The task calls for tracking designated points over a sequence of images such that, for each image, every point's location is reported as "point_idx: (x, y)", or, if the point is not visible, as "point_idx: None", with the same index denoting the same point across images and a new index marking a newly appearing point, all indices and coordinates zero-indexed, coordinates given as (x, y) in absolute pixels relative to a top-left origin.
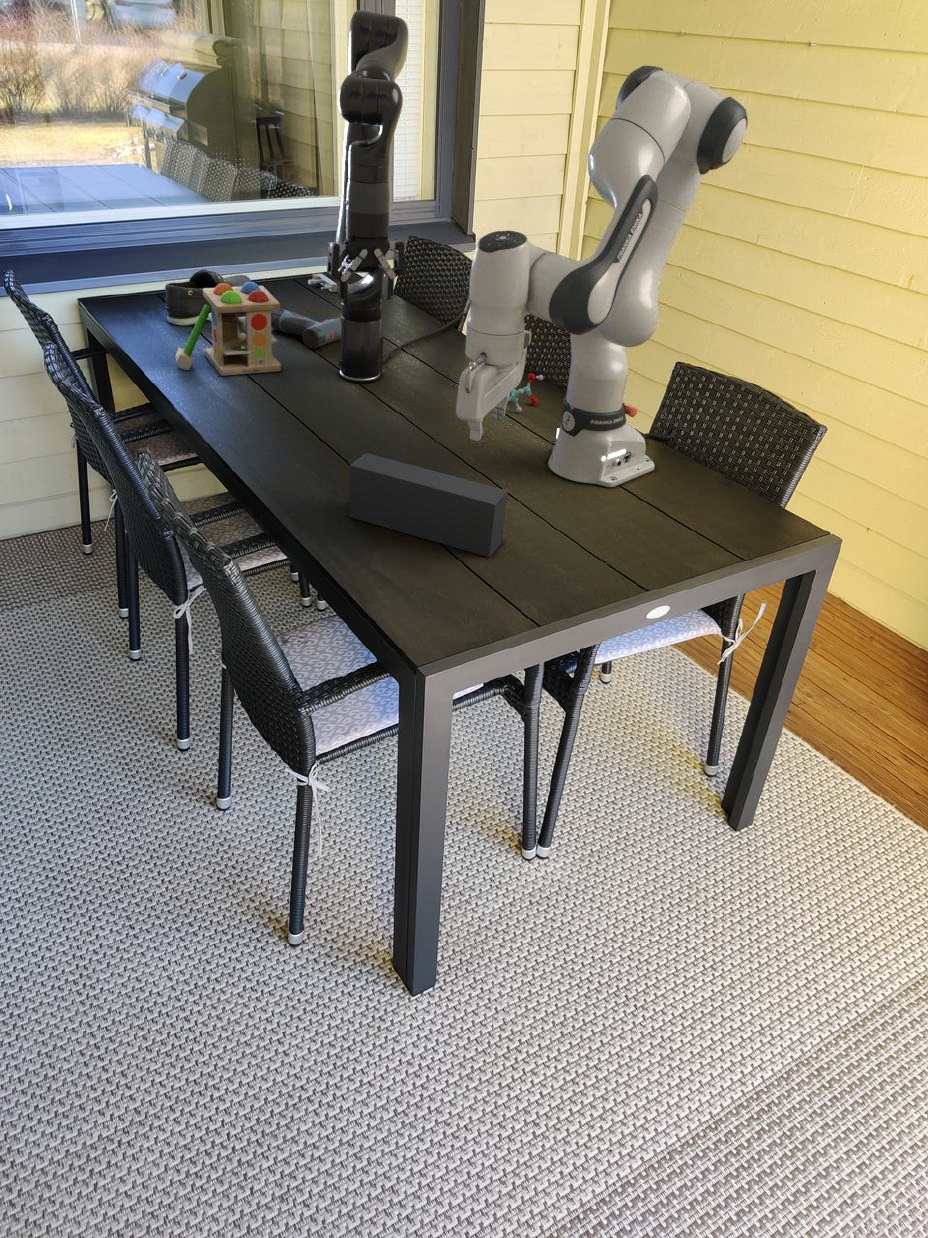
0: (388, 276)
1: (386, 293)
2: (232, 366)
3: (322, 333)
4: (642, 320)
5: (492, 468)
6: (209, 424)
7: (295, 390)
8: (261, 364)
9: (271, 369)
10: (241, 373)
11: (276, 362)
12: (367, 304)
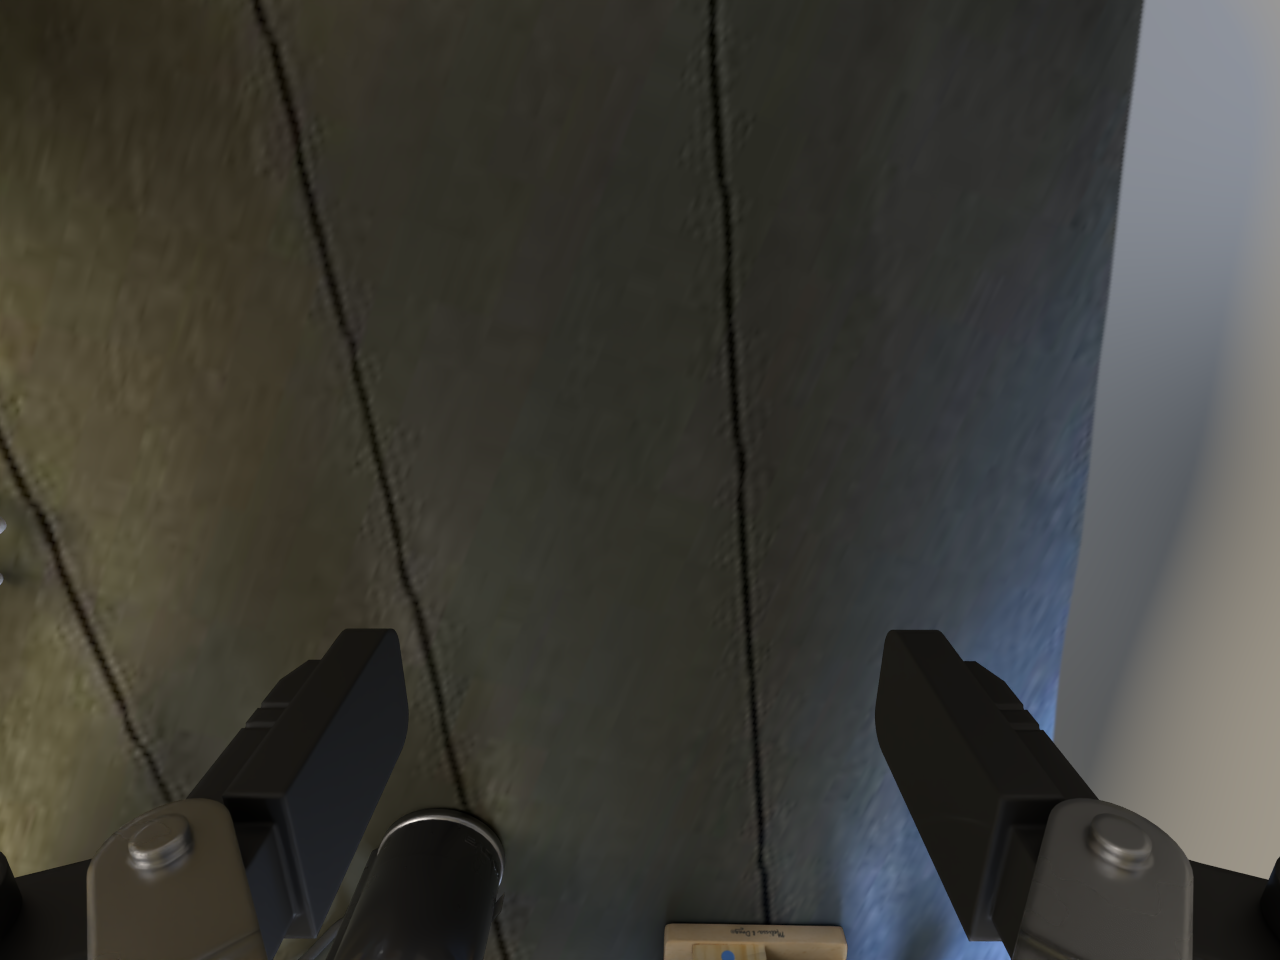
0: (245, 857)
1: (374, 683)
2: (807, 955)
3: None
4: None
5: (199, 42)
6: (1016, 656)
7: (673, 807)
8: (725, 948)
9: (695, 930)
10: (784, 926)
11: (672, 957)
12: None
